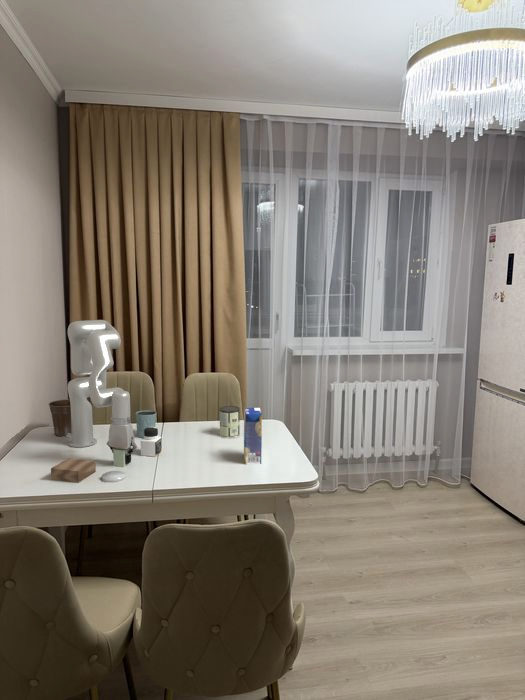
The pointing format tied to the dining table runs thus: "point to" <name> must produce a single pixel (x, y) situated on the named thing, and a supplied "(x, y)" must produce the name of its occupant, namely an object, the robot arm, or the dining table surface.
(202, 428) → the dining table surface
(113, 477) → the white domed disc
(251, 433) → the beverage box
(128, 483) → the dining table surface
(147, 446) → the medicine bottle
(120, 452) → the sage block
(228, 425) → the coffee can
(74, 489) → the dining table surface
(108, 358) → the robot arm
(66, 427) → the plant pot
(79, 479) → the walnut block
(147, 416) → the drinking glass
